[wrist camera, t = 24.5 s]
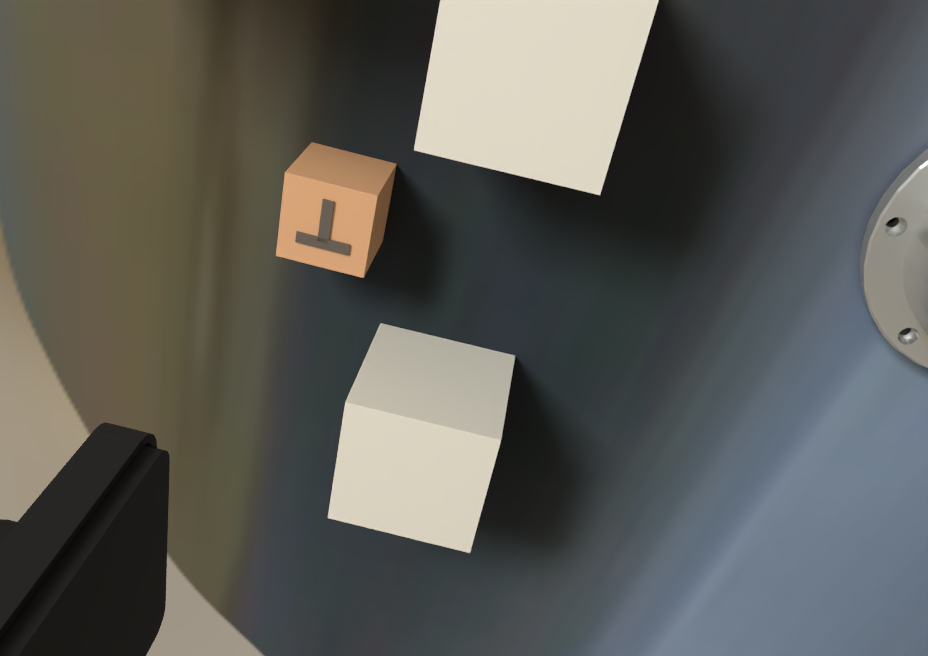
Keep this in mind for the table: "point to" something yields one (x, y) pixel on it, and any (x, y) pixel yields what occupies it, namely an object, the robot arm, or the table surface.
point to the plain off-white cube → (421, 437)
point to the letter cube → (334, 209)
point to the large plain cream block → (533, 85)
